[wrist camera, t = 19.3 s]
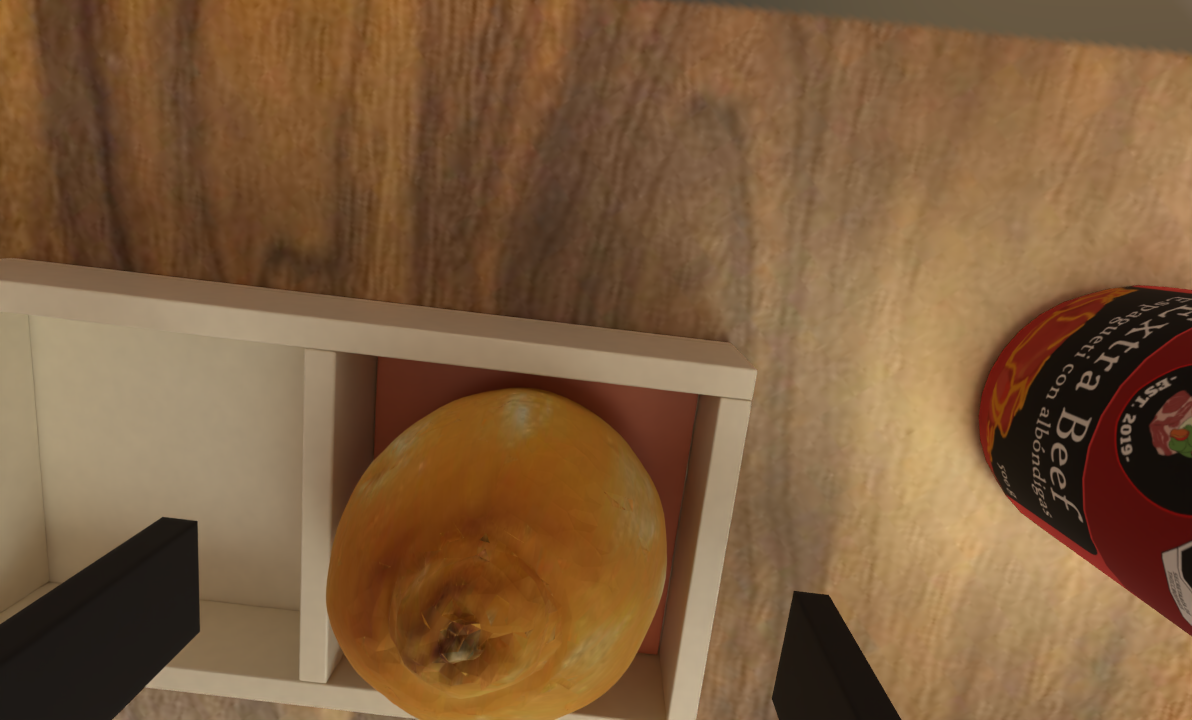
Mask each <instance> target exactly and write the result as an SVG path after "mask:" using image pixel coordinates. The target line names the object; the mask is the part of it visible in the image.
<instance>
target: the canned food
mask: <svg viewBox="0 0 1192 720" xmlns="http://www.w3.org/2000/svg"><path fill="white" fill-rule="evenodd" d="M979 431H980V441H981V445H982V448H983V452H984V455H985V459H986V461H987V463H988V465H989V467H990V469H991V471H992V472H993V474H994V476H995V478H996V480H997V481H998V483H999V485H1000V486H1001V488H1002V490H1003V491H1004V493H1005V495H1006V496H1007V497H1008V498H1009V499H1010V500H1011V502H1012V503H1013V504H1014V505H1015V506H1016V507H1017V508H1018V510H1019V511H1020V512H1021V513H1022V514H1024V515H1025V516H1026V517H1028V518H1029V519H1030V520H1032V521H1033V522H1034V523H1036V524H1037V525H1038V526H1040V527H1041V528H1042V529H1044V530H1045V531H1046V532H1048V533H1049V534H1051V535H1052V536H1053V537H1055V538H1056V539H1058V540H1059V541H1060V542H1062V543H1063V544H1065V545H1066V546H1067V547H1069V548H1070V549H1071V550H1073V551H1074V552H1076V553H1077V554H1078V555H1080V556H1081V557H1083V558H1084V559H1085V560H1087V561H1088V562H1089V563H1091V564H1092V565H1094V566H1095V567H1096V568H1098V569H1099V570H1101V571H1102V572H1103V573H1105V574H1106V575H1108V576H1109V577H1110V578H1112V579H1113V580H1114V581H1116V582H1117V583H1119V584H1120V585H1121V586H1123V587H1124V588H1126V589H1127V590H1128V591H1130V592H1131V593H1132V594H1134V595H1135V596H1137V597H1138V598H1139V599H1141V600H1142V601H1144V602H1145V603H1146V604H1148V605H1149V606H1150V607H1152V608H1153V609H1155V610H1156V611H1157V612H1159V613H1160V614H1162V615H1163V616H1164V617H1166V618H1167V619H1169V620H1170V621H1171V622H1173V623H1174V624H1175V625H1177V626H1178V627H1180V628H1181V629H1182V630H1184V631H1185V632H1187V633H1188V634H1189V635H1191V636H1192V290H1189V289H1180V288H1171V287H1158V286H1142V285H1136V286H1128V287H1121V288H1113V289H1107V290H1103V291H1099V292H1095V293H1091V294H1087V295H1084V296H1081V297H1078V298H1075V299H1072V300H1069V301H1065V302H1063V303H1061V304H1059V305H1057V306H1055V307H1053V308H1052V309H1050V310H1048V311H1046V312H1044V313H1042V314H1040V315H1039V316H1038V317H1037V318H1035V319H1034V320H1033V321H1032V322H1030V323H1029V324H1028V325H1026V326H1025V327H1024V328H1023V329H1021V330H1020V331H1019V332H1018V333H1017V335H1016V336H1015V337H1014V338H1013V339H1012V340H1011V341H1010V342H1009V344H1008V345H1007V346H1006V347H1005V348H1004V349H1003V351H1002V352H1001V354H1000V356H999V357H998V359H997V361H996V362H995V364H994V366H993V367H992V369H991V371H990V373H989V376H988V379H987V381H986V384H985V387H984V390H983V393H982V397H981V404H980V411H979Z"/></svg>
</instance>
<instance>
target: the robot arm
mask: <svg viewBox="0 0 1192 720" xmlns="http://www.w3.org/2000/svg"><path fill="white" fill-rule="evenodd" d="M199 632H200V604H199V560H198V521H194V520H186V519H177V518H169V517H162V518H160V519H159V520H157V521H156V522H154V523H153V524H151V525H150V526H148V527H146V528H145V529H143V530H142V531H140V532H139V533H137V534H136V535H134V536H133V537H131V538H130V539H128V540H127V541H125V542H124V543H122V544H121V545H119V546H118V547H116V548H115V549H113V550H112V551H110V552H109V553H107V554H106V555H104V556H103V557H101V558H100V559H98V560H97V561H95V562H93V563H92V564H90V565H89V566H87V567H86V568H84V569H83V570H81V571H80V572H78V573H77V574H75V575H74V576H72V577H71V578H69V579H68V580H66V581H65V582H63V583H62V584H60V585H59V586H57V587H56V588H54V589H53V590H51V591H50V592H48V593H47V594H45V595H44V596H42V597H40V598H39V599H37V600H36V601H34V602H33V603H31V604H30V605H28V606H27V607H25V608H24V609H22V610H21V611H19V612H18V613H16V614H15V615H13V616H12V617H10V618H9V619H7V620H6V621H4V622H3V623H1V624H0V720H112V719H113V718H114V717H115V716H116V715H117V714H118V713H119V712H120V711H121V710H122V709H123V708H124V707H125V706H126V705H127V704H128V703H129V702H130V701H131V700H132V699H133V698H134V697H135V696H136V695H137V694H138V693H139V692H140V691H141V690H142V689H143V688H144V687H145V686H146V685H147V684H148V683H149V682H150V681H151V680H152V679H153V678H154V677H155V676H156V675H157V674H158V673H159V672H160V671H161V670H162V669H163V668H164V667H165V666H166V665H167V664H168V663H169V662H170V661H171V660H172V659H173V658H174V657H175V656H176V655H177V654H178V653H179V652H180V651H181V650H182V649H183V648H184V647H185V646H186V645H187V644H188V643H189V642H190V641H191V640H192V639H193V638H194V637H195V636H196V635H197V634H198V633H199ZM772 700H773V703H774V706H775V709H776V712H777V715H778V718H779V720H901V718H900V717H899V715H898V713H897V711H896V710H895V708H894V706H893V705H892V703H891V701H890V699H889V698H888V696H887V694H886V693H885V691H884V689H883V687H882V686H881V684H880V682H879V681H878V679H877V677H876V675H875V674H874V672H873V670H872V669H871V667H870V665H869V663H868V662H867V660H866V658H865V656H864V655H863V653H862V651H861V650H860V648H859V646H858V644H857V643H856V641H855V639H854V638H853V636H852V634H851V632H850V631H849V629H848V627H847V626H846V624H845V622H844V620H843V619H842V617H841V615H840V614H839V612H838V610H837V608H836V607H835V605H834V603H833V601H832V600H831V598H830V596H829V595H824V594H816V593H807V592H799V591H794V593H793V598H792V603H791V608H790V613H789V618H788V623H787V628H786V632H785V637H784V642H783V647H782V652H781V657H780V662H779V667H778V671H777V676H776V681H775V686H774V691H773V696H772Z"/></svg>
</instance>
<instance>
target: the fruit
mask: <svg viewBox="0 0 1192 720" xmlns="http://www.w3.org/2000/svg"><path fill="white" fill-rule="evenodd" d="M666 568H667V541H666V528H665V518H664V512H663V508H662V504H661V500H660V497H659V495H658V492H657V490H656V487H655V485H654V483H653V481H652V479H651V477H650V476H649V474H648V473H647V471H646V469H645V468H644V466H643V465H642V463H641V462H640V460H639V459H638V457H637V456H636V454H635V453H634V452H633V450H632V449H631V447H630V446H629V445H628V443H627V442H626V441H625V440H624V438H623V437H622V436H621V435H620V434H619V433H618V432H617V431H615V430H614V429H613V428H612V427H611V426H610V425H609V424H608V423H606V422H605V421H604V420H602V419H601V418H600V417H599V416H597V415H596V414H594V413H593V412H591V411H590V410H588V409H587V408H585V407H583V406H582V405H580V404H578V403H576V402H574V401H572V400H570V399H568V398H565V397H563V396H560V395H558V394H555V393H552V392H549V391H545V390H540V389H534V388H505V389H499V390H493V391H487V392H481V393H478V394H473V395H470V396H466V397H462V398H460V399H458V400H454V401H452V402H450V403H448V404H446V405H444V406H442V407H440V408H438V409H437V410H435V411H433V412H432V413H430V414H428V415H427V416H425V417H424V418H422V419H421V420H419V421H417V422H416V423H414V424H413V425H412V426H410V427H409V428H408V429H406V430H405V431H404V432H403V433H401V434H400V435H399V436H398V437H397V438H396V439H395V440H394V441H393V442H391V444H390V445H389V446H388V447H387V448H386V449H385V450H384V451H383V452H382V453H381V454H380V455H379V456H378V457H377V458H376V459H375V460H374V461H373V462H372V463H371V464H370V466H369V467H368V468H367V470H366V471H365V472H364V474H363V475H362V477H361V478H360V480H359V482H358V483H357V485H356V487H355V489H354V490H353V492H352V494H351V496H350V499H349V501H348V503H347V505H346V508H345V510H344V512H343V514H342V517H341V519H340V522H339V525H338V527H337V531H336V535H335V538H334V542H333V546H332V551H331V557H330V563H329V569H328V576H327V585H326V607H327V613H328V617H329V620H330V624H331V627H332V630H333V632H334V635H335V637H336V639H337V641H338V643H339V645H340V647H341V649H342V651H343V653H344V654H345V656H346V658H347V659H348V661H349V662H350V664H351V665H352V667H353V668H354V669H355V670H356V672H357V673H358V674H359V675H360V676H361V677H362V678H363V679H364V680H365V681H366V682H367V683H368V684H370V685H371V686H372V687H373V688H374V689H376V690H377V691H378V692H380V693H381V694H382V695H384V696H385V697H386V698H387V699H388V700H389V701H390V702H392V703H393V704H395V705H396V706H398V707H399V708H401V709H402V710H404V711H405V712H407V713H408V714H410V715H412V716H414V717H415V718H418V719H420V720H555V719H558V718H560V717H562V716H565V715H567V714H569V713H572V712H574V711H576V710H578V709H580V708H583V707H585V706H586V705H588V704H590V703H592V702H593V701H595V700H596V699H598V698H599V697H601V696H602V695H603V694H604V693H606V692H607V691H608V690H609V689H610V688H611V687H612V686H613V685H614V684H615V683H616V682H617V681H618V680H619V679H620V678H621V677H622V675H623V674H624V673H625V671H626V670H627V669H628V667H629V666H630V664H631V663H632V661H633V659H634V658H635V656H636V654H637V652H638V650H639V648H640V646H641V644H642V642H643V640H644V637H645V635H646V633H647V631H648V629H649V627H650V624H651V622H652V620H653V618H654V616H655V613H656V610H657V608H658V605H659V602H660V599H661V596H662V593H663V588H664V584H665V579H666Z"/></svg>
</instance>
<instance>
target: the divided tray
mask: <svg viewBox="0 0 1192 720" xmlns="http://www.w3.org/2000/svg"><path fill="white" fill-rule="evenodd" d="M756 376H757V369H756V368H755V367H754V366H753V365H752V364H751V363H750V362H749V361H748V360H747V359H746V358H745V357H744V356H743V355H742V354H741V353H740V352H739V351H738V350H737V349H736V348H735V347H734V346H733V345H732V344H731V343H728V342H720V341H711V340H703V339H695V338H686V337H678V336H669V335H661V334H652V333H644V332H635V331H627V330H618V329H610V328H602V327H593V326H585V325H576V324H568V323H559V322H551V321H542V320H534V319H526V318H517V317H509V316H500V315H492V314H483V313H475V312H466V311H458V310H449V309H441V308H433V307H424V306H416V305H407V304H399V303H390V302H382V301H373V300H365V299H357V298H348V297H340V296H331V295H323V294H314V293H306V292H297V291H289V290H280V289H272V288H264V287H255V286H247V285H238V284H230V283H221V282H213V281H204V280H196V279H187V278H179V277H171V276H162V275H154V274H145V273H137V272H128V271H120V270H111V269H103V268H95V267H86V266H78V265H69V264H61V263H52V262H44V261H35V260H27V259H18V258H4V259H0V624H1V623H3V622H4V621H6V620H7V619H9V618H10V617H12V616H13V615H15V614H16V613H18V612H19V611H21V610H22V609H24V608H25V607H27V606H28V605H30V604H31V603H33V602H34V601H36V600H37V599H39V598H40V597H42V596H44V595H45V594H47V593H48V592H50V591H51V590H53V589H54V588H56V587H57V586H59V585H60V584H62V583H63V582H65V581H66V580H68V579H69V578H71V577H72V576H74V575H75V574H77V573H78V572H80V571H81V570H83V569H84V568H86V567H87V566H89V565H90V564H92V563H93V562H95V561H97V560H98V559H100V558H101V557H103V556H104V555H106V554H107V553H109V552H110V551H112V550H113V549H115V548H116V547H118V546H119V545H121V544H122V543H124V542H125V541H127V540H128V539H130V538H131V537H133V536H134V535H136V534H137V533H139V532H140V531H142V530H143V529H145V528H146V527H148V526H150V525H151V524H153V523H154V522H156V521H157V520H159V519H160V518H162V517H169V518H177V519H186V520H194V521H198V560H199V604H200V632H199V633H198V634H197V635H196V636H195V637H194V638H193V639H192V640H191V641H190V642H189V643H188V644H187V645H186V646H185V647H184V648H183V649H182V650H181V651H180V652H179V653H178V654H177V655H176V656H175V657H174V658H173V659H172V660H171V661H170V662H169V663H168V664H167V665H166V666H165V667H164V668H163V669H162V670H161V671H160V672H159V673H158V674H157V675H156V676H155V677H154V678H153V679H152V680H151V681H150V682H149V683H148V684H147V685H146V686H145V687H147V688H156V689H164V690H173V691H181V692H190V693H198V694H207V695H216V696H224V697H233V698H241V699H250V700H258V701H267V702H275V703H284V704H293V705H301V706H310V707H318V708H327V709H335V710H344V711H353V712H361V713H370V714H378V715H387V716H395V717H404V718H412V719H418V718H415V717H414V716H412V715H410V714H408V713H407V712H405V711H404V710H402V709H401V708H399V707H398V706H396V705H395V704H393V703H392V702H390V701H389V700H388V699H387V698H386V697H385V696H384V695H382V694H381V693H380V692H378V691H377V690H376V689H374V688H373V687H372V686H371V685H370V684H368V683H367V682H366V681H365V680H364V679H363V678H362V677H361V676H360V675H359V674H358V673H357V672H356V670H355V669H354V668H353V667H352V665H351V664H350V662H349V661H348V659H347V658H346V656H345V654H344V653H343V651H342V649H341V647H340V645H339V643H338V641H337V639H336V637H335V635H334V632H333V630H332V627H331V624H330V620H329V617H328V613H327V607H326V585H327V576H328V569H329V563H330V557H331V551H332V546H333V542H334V538H335V535H336V531H337V527H338V525H339V522H340V519H341V517H342V514H343V512H344V510H345V508H346V505H347V503H348V501H349V499H350V496H351V494H352V492H353V490H354V489H355V487H356V485H357V483H358V482H359V480H360V478H361V477H362V475H363V474H364V472H365V471H366V470H367V468H368V467H369V466H370V464H371V463H372V462H373V461H374V460H375V459H376V458H377V457H378V456H379V455H380V454H381V453H382V452H383V451H384V450H385V449H386V448H387V447H388V446H389V445H390V444H391V442H393V441H394V440H395V439H396V438H397V437H398V436H399V435H400V434H401V433H403V432H404V431H405V430H406V429H408V428H409V427H410V426H412V425H413V424H414V423H416V422H417V421H419V420H421V419H422V418H424V417H425V416H427V415H428V414H430V413H432V412H433V411H435V410H437V409H438V408H440V407H442V406H444V405H446V404H448V403H450V402H452V401H454V400H458V399H460V398H462V397H466V396H470V395H473V394H478V393H481V392H487V391H493V390H499V389H505V388H534V389H540V390H545V391H549V392H552V393H555V394H558V395H560V396H563V397H565V398H568V399H570V400H572V401H574V402H576V403H578V404H580V405H582V406H583V407H585V408H587V409H588V410H590V411H591V412H593V413H594V414H596V415H597V416H599V417H600V418H601V419H602V420H604V421H605V422H606V423H608V424H609V425H610V426H611V427H612V428H613V429H614V430H615V431H617V432H618V433H619V434H620V435H621V436H622V437H623V438H624V440H625V441H626V442H627V443H628V445H629V446H630V447H631V449H632V450H633V452H634V453H635V454H636V456H637V457H638V459H639V460H640V462H641V463H642V465H643V466H644V468H645V469H646V471H647V473H648V474H649V476H650V477H651V479H652V481H653V483H654V485H655V487H656V490H657V492H658V495H659V497H660V500H661V504H662V508H663V512H664V518H665V528H666V541H667V568H666V579H665V584H664V588H663V593H662V596H661V599H660V602H659V605H658V608H657V610H656V613H655V616H654V618H653V620H652V622H651V624H650V627H649V629H648V631H647V633H646V635H645V637H644V640H643V642H642V644H641V646H640V648H639V650H638V652H637V654H636V656H635V658H634V659H633V661H632V663H631V664H630V666H629V667H628V669H627V670H626V671H625V673H624V674H623V675H622V677H621V678H620V679H619V680H618V681H617V682H616V683H615V684H614V685H613V686H612V687H611V688H610V689H609V690H608V691H607V692H606V693H604V694H603V695H602V696H601V697H599V698H598V699H596V700H595V701H593V702H592V703H590V704H588V705H586V706H585V707H583V708H580V709H578V710H576V711H574V712H572V713H569V714H567V715H565V716H562V717H560V718H558V719H555V720H696V717H697V711H698V706H699V700H700V694H701V689H702V683H703V677H704V672H705V666H706V660H707V655H708V649H709V643H710V638H711V632H712V626H713V621H714V615H715V609H716V604H717V598H718V592H719V586H720V581H721V575H722V569H723V564H724V558H725V552H726V547H727V541H728V535H729V530H730V524H731V518H732V513H733V507H734V501H735V496H736V490H737V484H738V479H739V473H740V467H741V462H742V456H743V450H744V445H745V439H746V433H747V428H748V422H749V416H750V411H751V405H752V401H751V400H752V398H753V393H754V388H755V382H756Z"/></svg>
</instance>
